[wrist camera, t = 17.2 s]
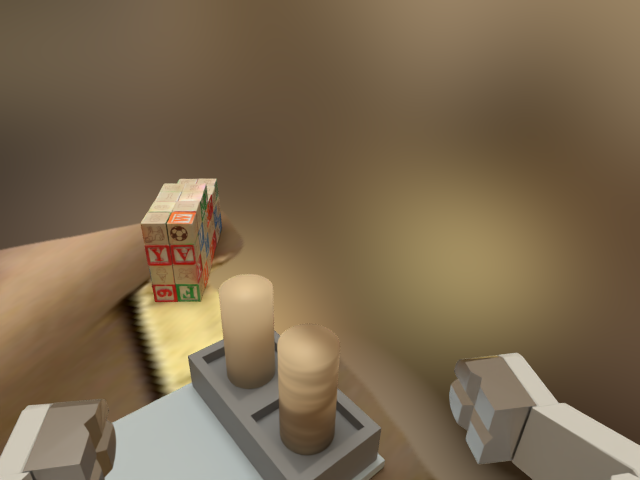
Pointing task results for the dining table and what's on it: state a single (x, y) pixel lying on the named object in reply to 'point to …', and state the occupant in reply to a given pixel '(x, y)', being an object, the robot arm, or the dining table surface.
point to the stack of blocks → (182, 238)
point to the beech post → (307, 387)
